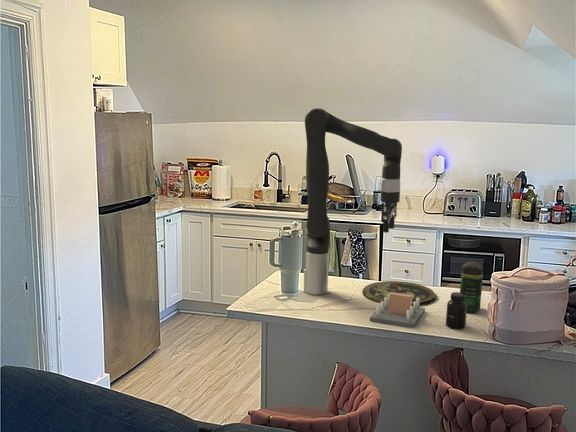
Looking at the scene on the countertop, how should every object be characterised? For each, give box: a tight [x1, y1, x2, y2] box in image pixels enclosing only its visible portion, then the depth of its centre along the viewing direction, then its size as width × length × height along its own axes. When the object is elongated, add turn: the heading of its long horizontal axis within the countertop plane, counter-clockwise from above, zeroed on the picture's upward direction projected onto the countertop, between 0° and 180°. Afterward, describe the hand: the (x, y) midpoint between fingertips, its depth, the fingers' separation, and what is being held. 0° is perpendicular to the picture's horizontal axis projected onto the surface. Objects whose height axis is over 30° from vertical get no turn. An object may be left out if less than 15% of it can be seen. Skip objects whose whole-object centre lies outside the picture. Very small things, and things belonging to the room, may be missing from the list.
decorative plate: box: [362, 280, 437, 307], centre depth 248 cm, size 30×2×30 cm
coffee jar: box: [459, 261, 484, 314], centre depth 229 cm, size 10×8×19 cm
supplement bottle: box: [445, 291, 467, 330], centre depth 212 cm, size 7×7×12 cm
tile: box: [389, 292, 413, 315], centre depth 221 cm, size 8×2×7 cm, turn 66°
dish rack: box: [369, 294, 426, 329], centre depth 222 cm, size 16×19×6 cm
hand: (388, 230), depth 238 cm, fingers open, 8 cm apart
